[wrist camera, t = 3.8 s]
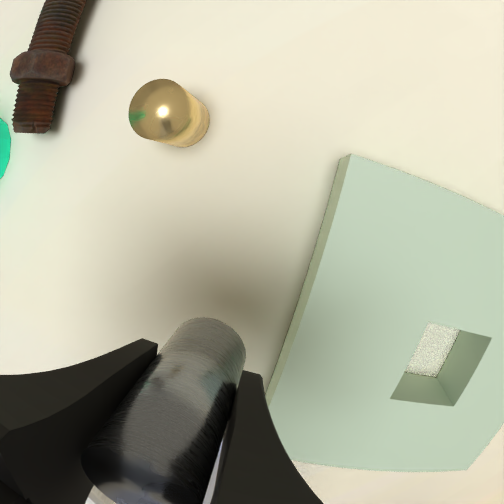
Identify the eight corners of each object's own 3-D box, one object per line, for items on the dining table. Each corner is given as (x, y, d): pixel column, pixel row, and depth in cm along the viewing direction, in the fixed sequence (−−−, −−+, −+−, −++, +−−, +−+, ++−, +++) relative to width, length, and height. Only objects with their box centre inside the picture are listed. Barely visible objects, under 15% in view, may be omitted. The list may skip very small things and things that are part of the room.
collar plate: (454, 443, 20) (466, 469, 16) (256, 417, 21) (250, 451, 17) (552, 249, 15) (581, 260, 12) (340, 159, 17) (351, 154, 13)
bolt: (56, 134, 20) (104, -29, 16) (77, 135, 17) (135, -51, 13) (-10, 132, 16) (47, -44, 11) (-4, 132, 13) (70, -73, 9)
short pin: (202, 151, 17) (177, 144, 14) (155, 142, 18) (122, 134, 14) (215, 101, 17) (194, 82, 13) (168, 94, 17) (138, 76, 13)
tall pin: (236, 390, 12) (193, 532, 6) (168, 369, 13) (88, 491, 6) (253, 330, 12) (209, 481, 5) (177, 308, 12) (73, 426, 5)
